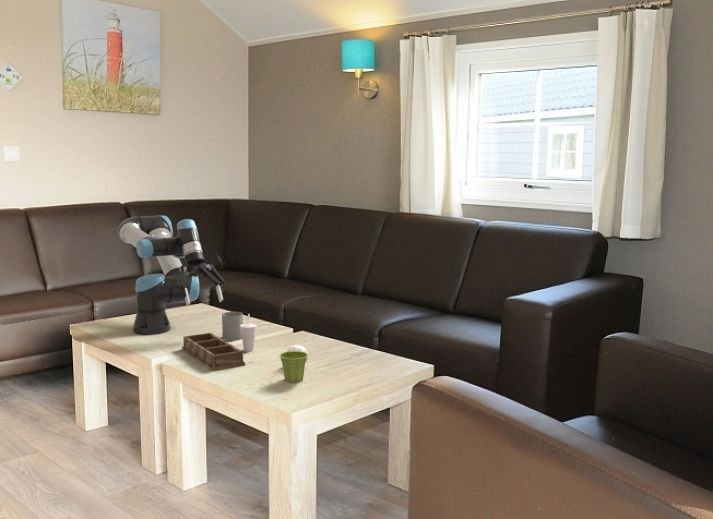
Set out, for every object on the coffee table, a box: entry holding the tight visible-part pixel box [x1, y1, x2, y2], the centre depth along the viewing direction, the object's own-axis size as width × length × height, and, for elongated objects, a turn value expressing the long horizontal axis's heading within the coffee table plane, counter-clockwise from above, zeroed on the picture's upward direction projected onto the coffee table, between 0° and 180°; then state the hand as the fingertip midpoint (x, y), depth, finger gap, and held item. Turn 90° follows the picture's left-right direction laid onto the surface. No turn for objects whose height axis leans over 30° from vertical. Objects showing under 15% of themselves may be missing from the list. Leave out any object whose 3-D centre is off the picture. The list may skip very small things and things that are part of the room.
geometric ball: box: [286, 344, 309, 364], centre depth 257 cm, size 8×8×8 cm
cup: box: [221, 311, 244, 342], centre depth 295 cm, size 8×8×10 cm
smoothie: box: [240, 313, 258, 353], centre depth 277 cm, size 6×6×14 cm
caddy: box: [181, 332, 246, 371], centre depth 269 cm, size 32×12×5 cm, turn 32°
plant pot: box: [279, 351, 309, 383], centre depth 242 cm, size 9×9×9 cm
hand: (205, 302), depth 289 cm, fingers open, 13 cm apart
